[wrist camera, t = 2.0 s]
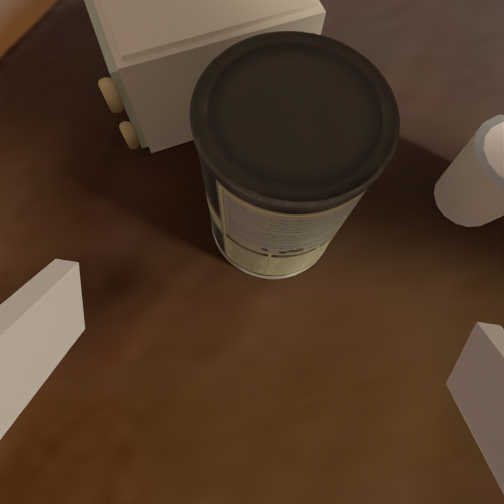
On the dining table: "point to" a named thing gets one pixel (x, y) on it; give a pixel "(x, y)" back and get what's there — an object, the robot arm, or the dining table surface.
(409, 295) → the dining table surface
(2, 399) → the robot arm
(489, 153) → the shot glass
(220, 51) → the cabinet
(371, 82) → the coffee can
